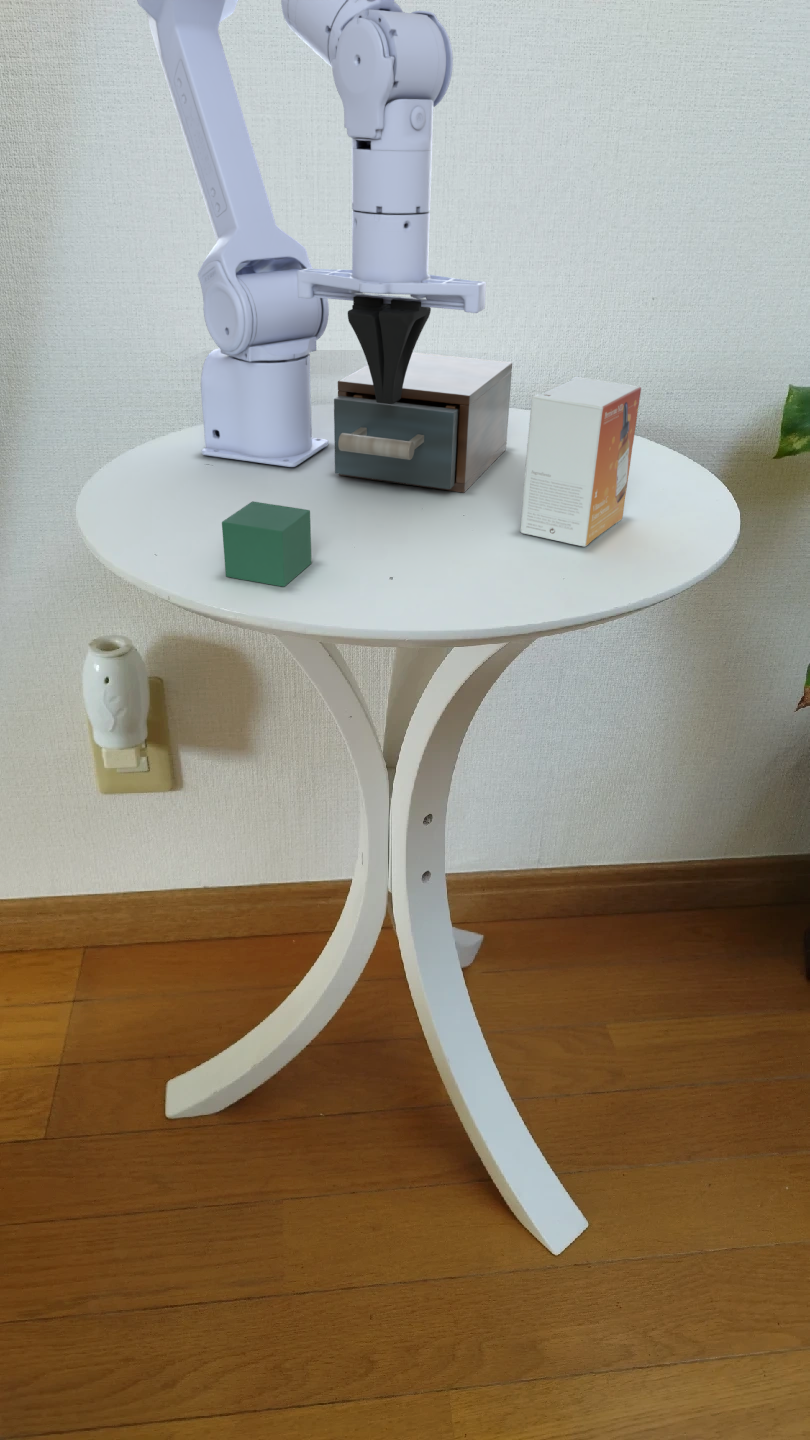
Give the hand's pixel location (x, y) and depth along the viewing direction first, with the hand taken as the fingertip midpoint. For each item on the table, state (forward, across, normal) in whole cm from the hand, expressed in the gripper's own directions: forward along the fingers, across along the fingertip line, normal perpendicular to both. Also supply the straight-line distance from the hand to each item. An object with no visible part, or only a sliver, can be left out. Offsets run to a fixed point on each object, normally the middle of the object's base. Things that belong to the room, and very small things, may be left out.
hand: (388, 400), depth 81 cm
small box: (+8, +16, -1) cm, 18 cm away
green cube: (+8, -2, -18) cm, 20 cm away
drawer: (+7, 0, +5) cm, 9 cm away
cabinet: (+8, 0, +10) cm, 13 cm away
